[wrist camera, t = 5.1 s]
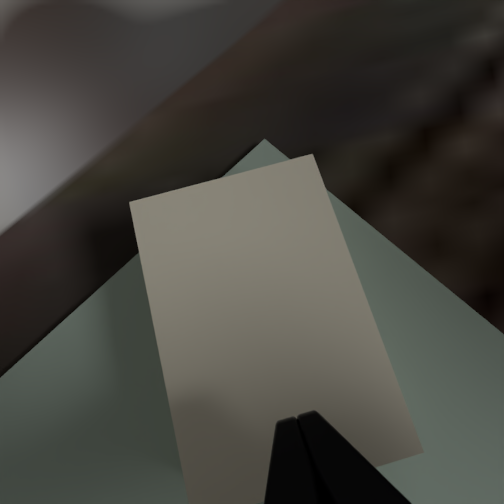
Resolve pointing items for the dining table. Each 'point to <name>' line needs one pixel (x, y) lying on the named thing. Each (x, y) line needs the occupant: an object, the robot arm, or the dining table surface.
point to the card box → (262, 327)
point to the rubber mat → (158, 410)
